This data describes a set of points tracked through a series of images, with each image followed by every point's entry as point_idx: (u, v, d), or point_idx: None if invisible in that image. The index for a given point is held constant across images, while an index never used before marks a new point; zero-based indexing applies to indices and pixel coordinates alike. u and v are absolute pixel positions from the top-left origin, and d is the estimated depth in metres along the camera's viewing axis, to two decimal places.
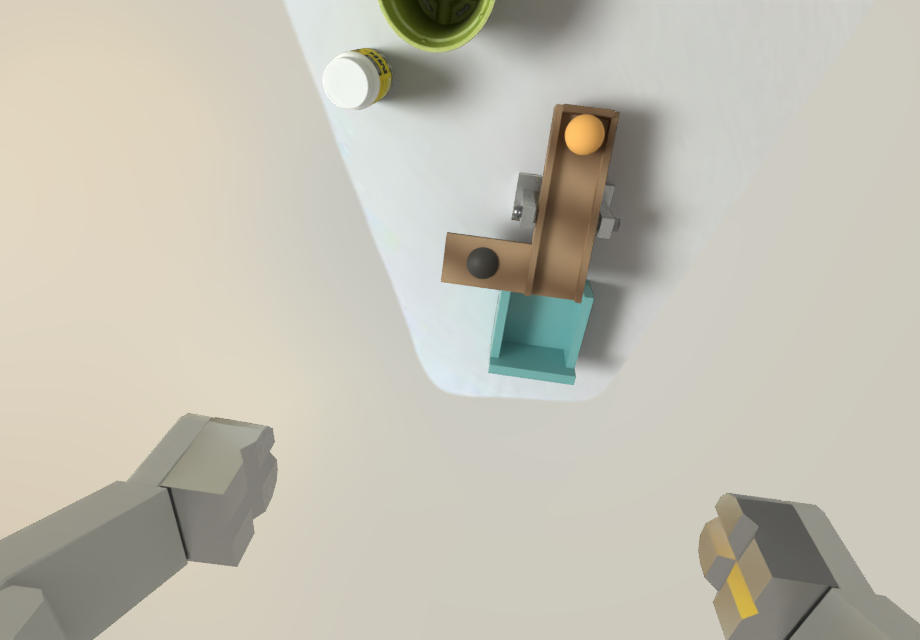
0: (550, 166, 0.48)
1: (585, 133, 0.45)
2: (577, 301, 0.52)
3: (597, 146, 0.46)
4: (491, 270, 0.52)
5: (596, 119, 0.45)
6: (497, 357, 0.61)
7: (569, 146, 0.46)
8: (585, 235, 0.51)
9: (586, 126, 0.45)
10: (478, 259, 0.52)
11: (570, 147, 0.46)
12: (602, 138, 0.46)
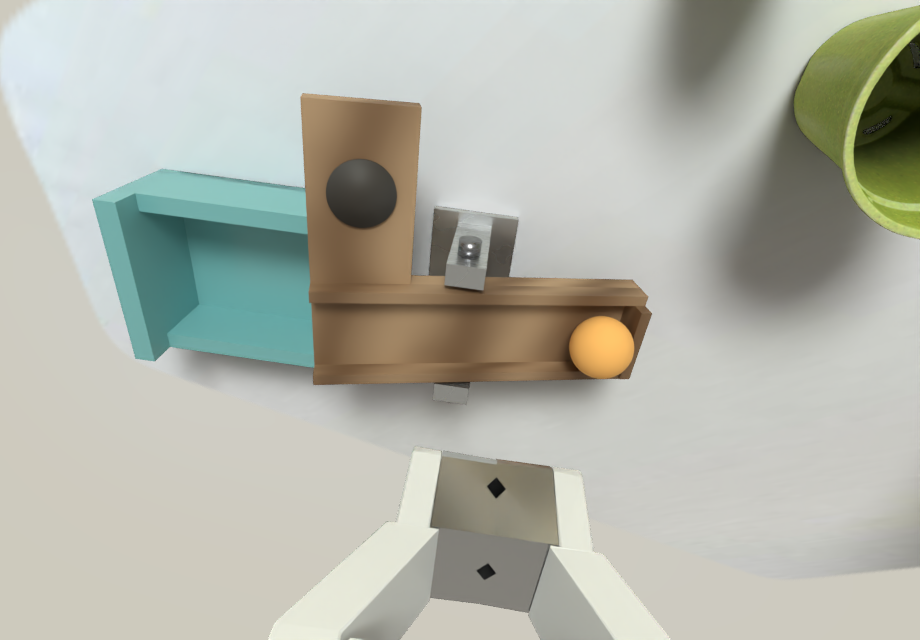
0: (553, 301, 0.27)
1: (614, 362, 0.27)
2: (316, 378, 0.28)
3: (587, 374, 0.28)
4: (348, 215, 0.24)
5: None
6: (139, 208, 0.28)
7: (589, 333, 0.27)
8: (434, 362, 0.29)
9: (624, 361, 0.27)
10: (369, 185, 0.23)
11: (587, 335, 0.27)
12: (597, 378, 0.29)
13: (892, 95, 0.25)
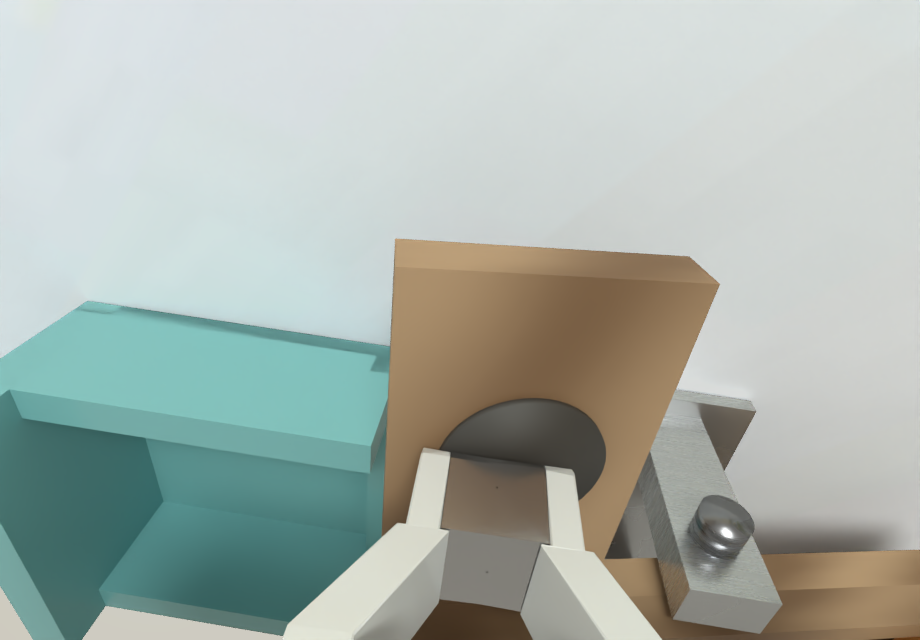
0: (885, 634, 0.13)
1: None
2: None
3: None
4: None
5: None
6: (20, 415, 0.14)
7: None
8: None
9: None
10: (544, 452, 0.09)
11: None
12: None
13: None
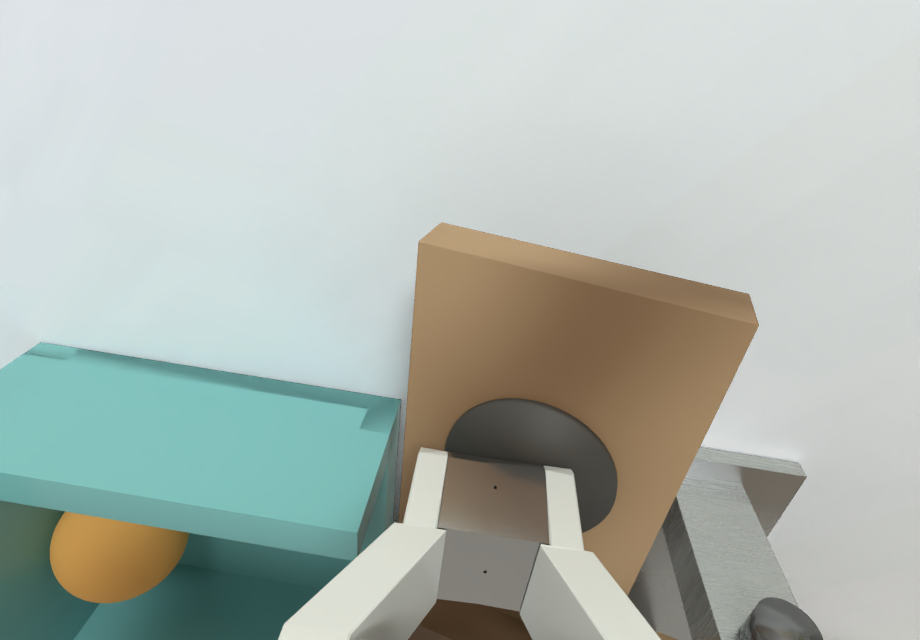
0: None
1: None
2: None
3: None
4: None
5: None
6: None
7: None
8: None
9: None
10: (549, 463, 0.09)
11: None
12: None
13: None
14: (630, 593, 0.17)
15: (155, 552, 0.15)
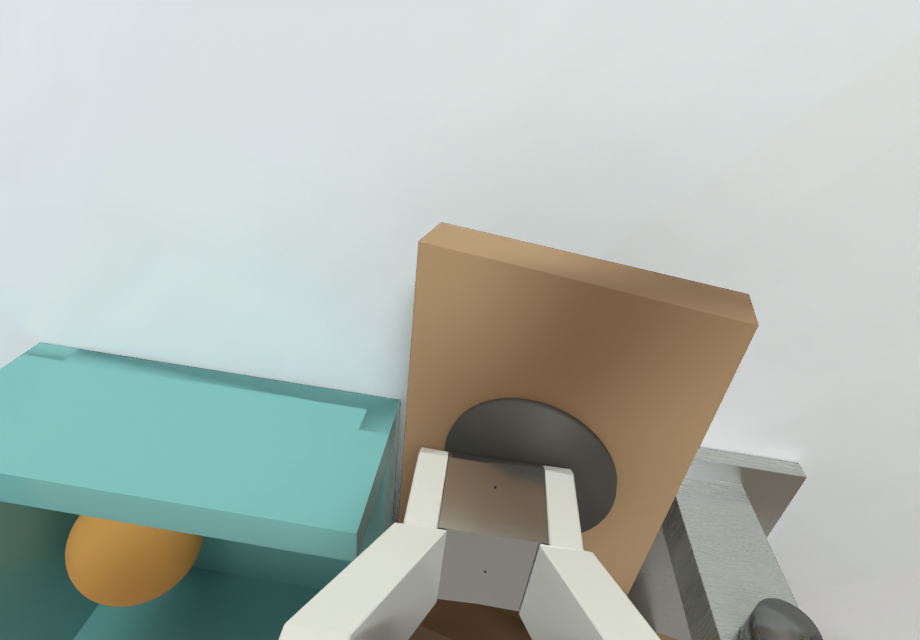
0: None
1: None
2: None
3: None
4: None
5: None
6: None
7: None
8: None
9: None
10: (548, 463, 0.09)
11: None
12: None
13: None
14: (630, 593, 0.17)
15: (183, 543, 0.15)
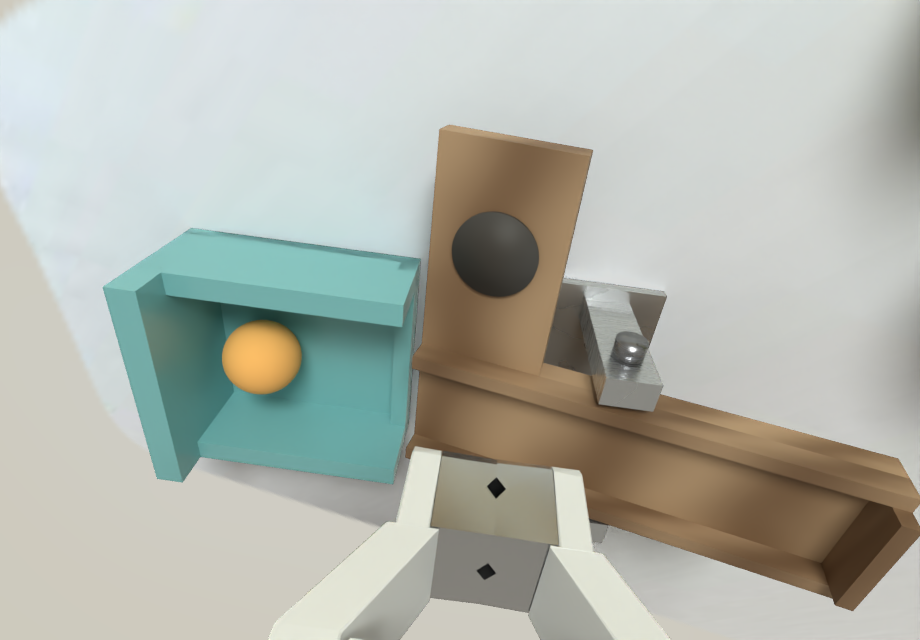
0: (742, 458, 0.18)
1: (222, 357, 0.24)
2: (408, 452, 0.23)
3: None
4: (475, 277, 0.19)
5: (242, 387, 0.23)
6: (165, 292, 0.20)
7: None
8: None
9: (223, 364, 0.23)
10: (505, 246, 0.18)
11: None
12: None
13: None
14: None
15: (297, 349, 0.24)
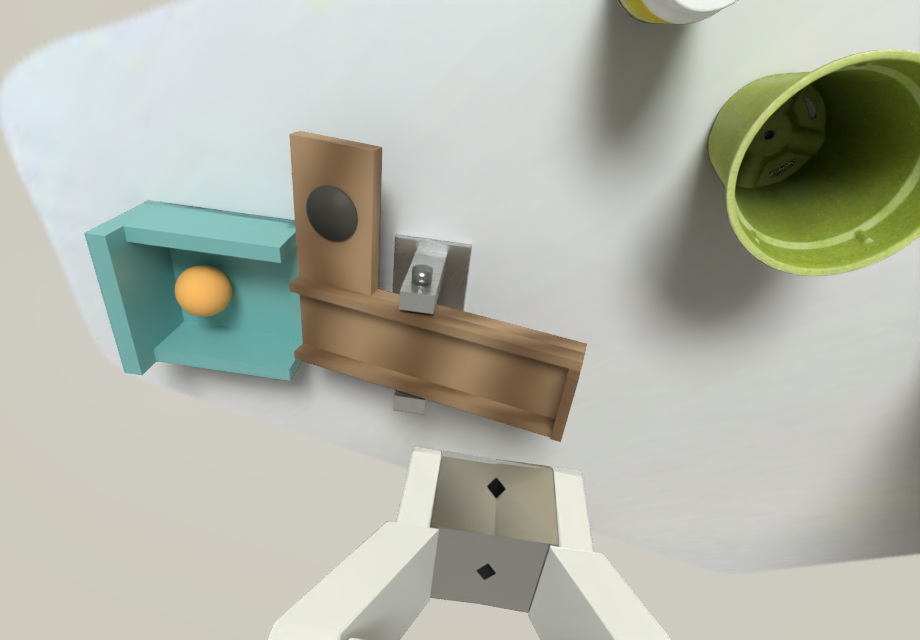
0: (485, 341, 0.29)
1: (175, 292, 0.34)
2: (296, 354, 0.34)
3: None
4: (322, 228, 0.30)
5: (193, 310, 0.34)
6: (126, 239, 0.31)
7: None
8: (392, 369, 0.33)
9: (177, 296, 0.34)
10: (336, 208, 0.29)
11: None
12: None
13: (792, 142, 0.29)
14: None
15: (229, 282, 0.35)
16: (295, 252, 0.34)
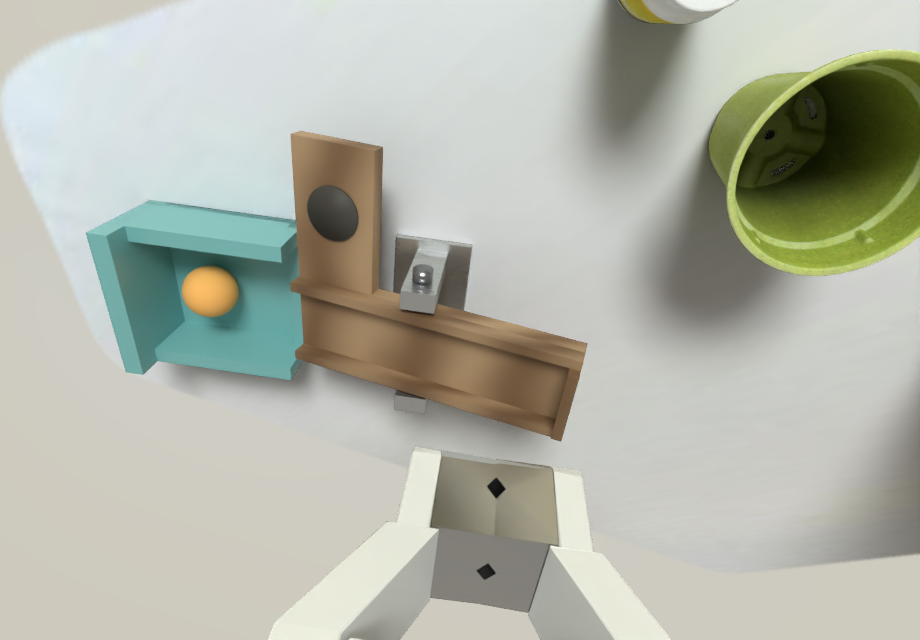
0: (485, 341, 0.29)
1: (183, 295, 0.34)
2: (297, 353, 0.34)
3: None
4: (323, 228, 0.30)
5: (206, 311, 0.34)
6: (128, 239, 0.31)
7: None
8: (392, 369, 0.33)
9: (188, 298, 0.34)
10: (337, 207, 0.29)
11: None
12: None
13: (793, 142, 0.29)
14: None
15: (235, 280, 0.35)
16: (296, 252, 0.34)
